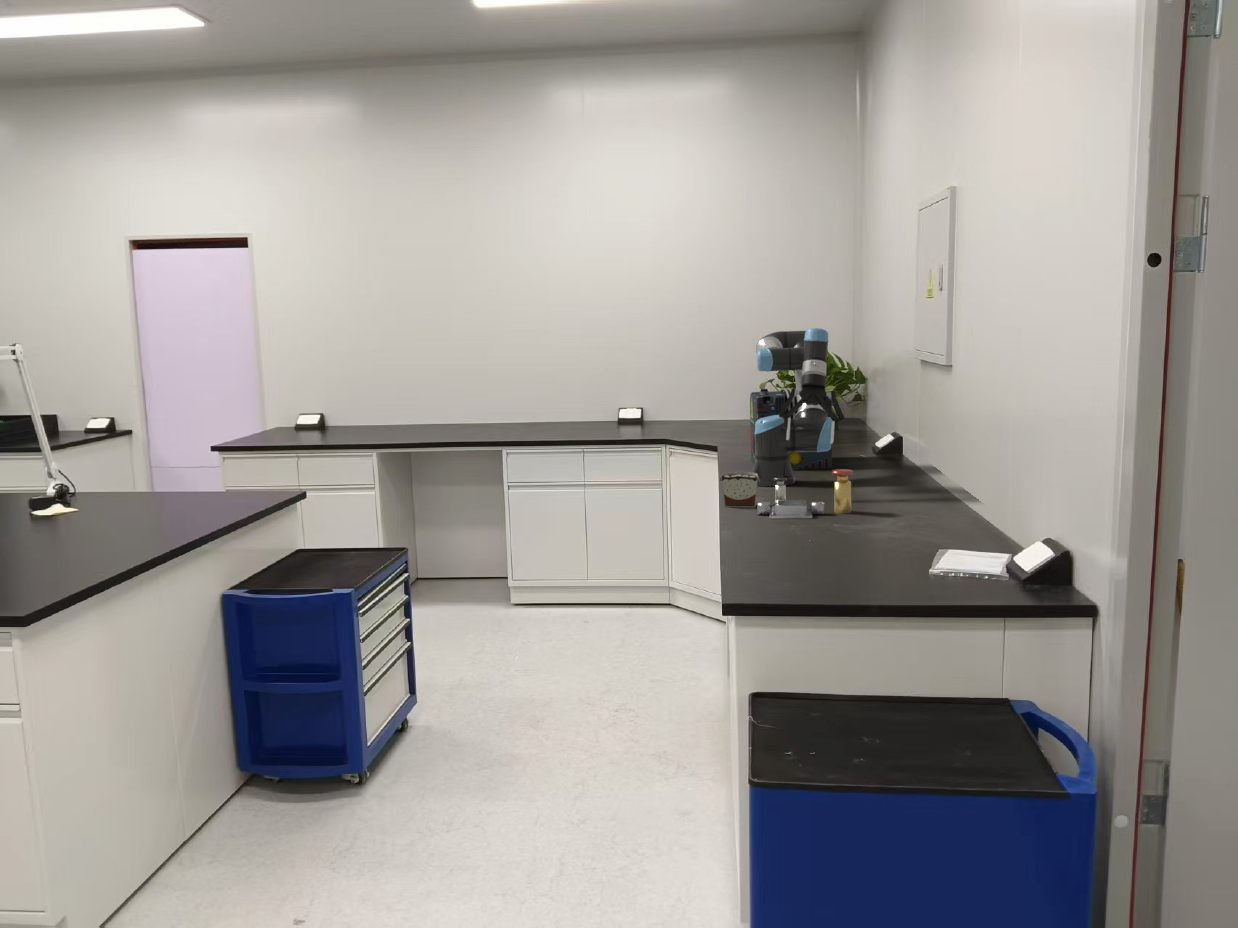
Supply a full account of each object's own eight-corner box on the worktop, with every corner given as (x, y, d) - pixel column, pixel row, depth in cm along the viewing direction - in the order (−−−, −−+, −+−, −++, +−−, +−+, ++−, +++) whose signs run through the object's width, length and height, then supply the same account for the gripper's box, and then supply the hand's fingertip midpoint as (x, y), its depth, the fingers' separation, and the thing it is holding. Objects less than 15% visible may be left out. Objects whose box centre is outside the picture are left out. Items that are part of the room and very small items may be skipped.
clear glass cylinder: (774, 504, 300) (773, 476, 299) (787, 504, 299) (786, 476, 298) (773, 506, 296) (773, 479, 295) (787, 506, 295) (786, 478, 294)
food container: (762, 503, 302) (762, 471, 301) (760, 507, 296) (759, 475, 295) (723, 503, 305) (722, 471, 304) (719, 506, 300) (719, 474, 298)
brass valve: (831, 510, 288) (831, 469, 287) (852, 509, 287) (852, 469, 285) (832, 514, 283) (832, 472, 281) (853, 514, 281) (853, 472, 280)
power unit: (750, 460, 392) (749, 385, 387) (819, 457, 391) (819, 383, 386) (758, 471, 364) (756, 390, 360) (832, 468, 363) (831, 388, 359)
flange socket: (758, 510, 292) (757, 498, 292) (823, 509, 289) (823, 498, 288) (756, 518, 280) (756, 506, 280) (824, 518, 277) (824, 505, 277)
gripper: (774, 369, 308) (770, 434, 303) (855, 375, 304) (851, 440, 300) (773, 377, 315) (769, 440, 310) (852, 382, 312) (848, 446, 307)
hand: (809, 440), depth 305 cm, fingers open, 13 cm apart
